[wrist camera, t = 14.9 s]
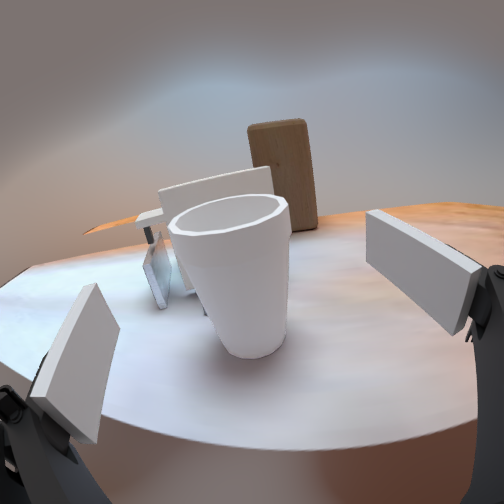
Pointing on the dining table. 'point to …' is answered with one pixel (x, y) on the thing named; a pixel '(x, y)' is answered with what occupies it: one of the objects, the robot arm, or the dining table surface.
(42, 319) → the dining table surface
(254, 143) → the wooden block
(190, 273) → the foam cup
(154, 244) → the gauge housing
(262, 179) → the gauge slider
